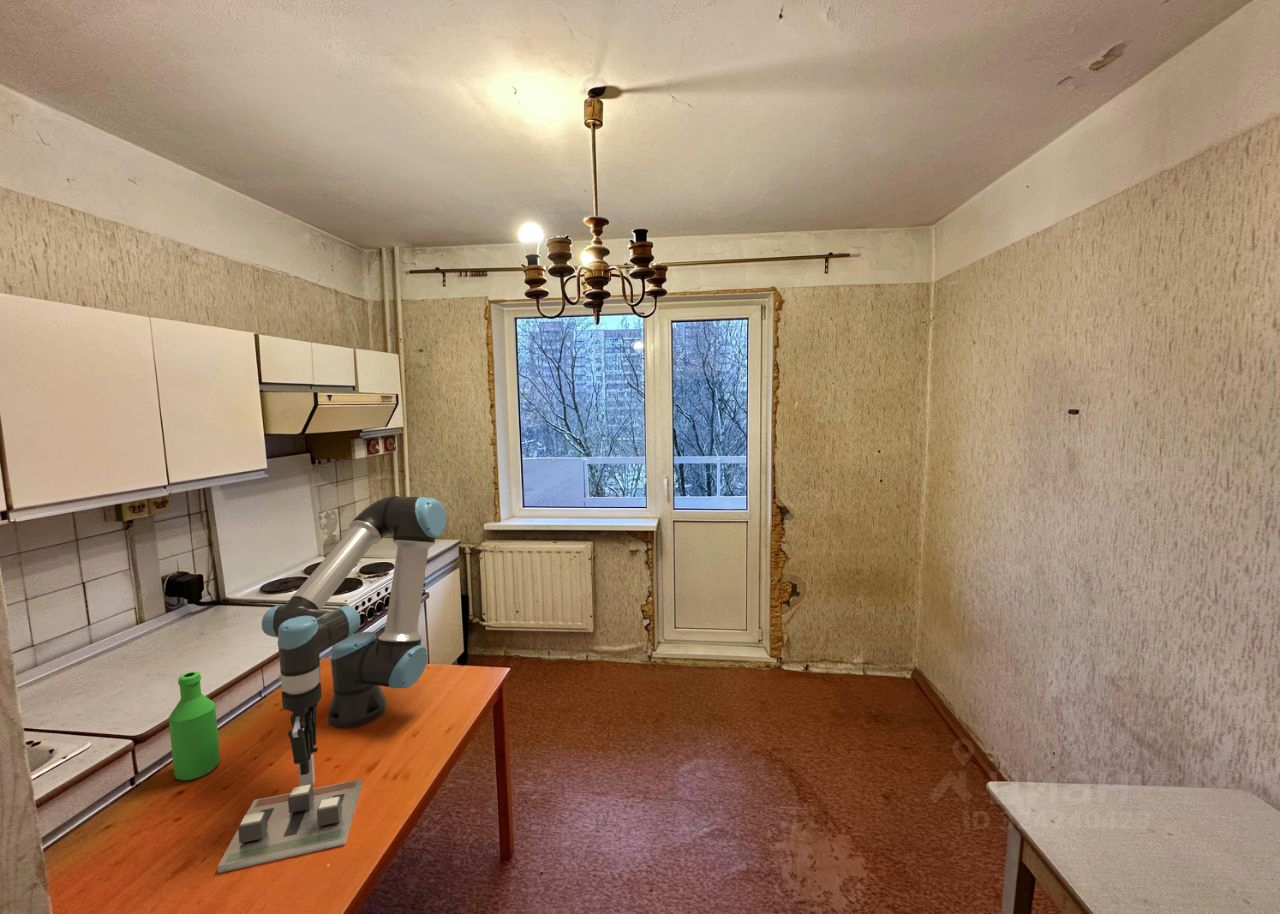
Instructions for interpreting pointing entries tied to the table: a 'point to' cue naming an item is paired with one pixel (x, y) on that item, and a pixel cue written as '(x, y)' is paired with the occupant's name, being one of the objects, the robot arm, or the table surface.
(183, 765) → the bottle
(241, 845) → the panel
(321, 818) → the block
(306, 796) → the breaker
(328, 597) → the robot arm
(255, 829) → the breaker
